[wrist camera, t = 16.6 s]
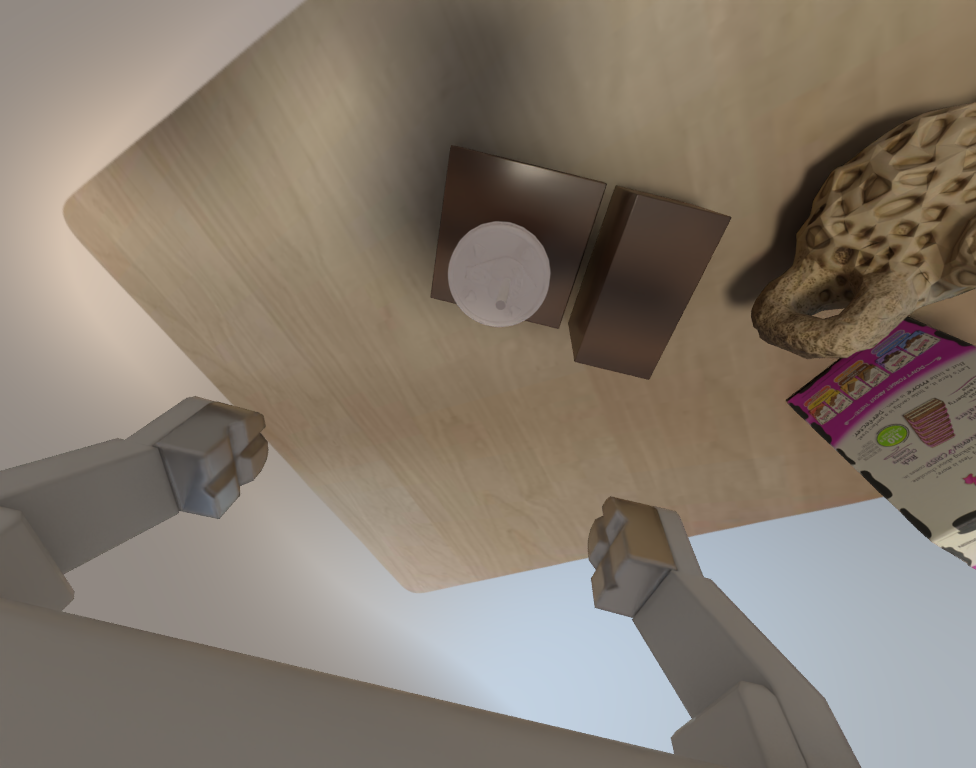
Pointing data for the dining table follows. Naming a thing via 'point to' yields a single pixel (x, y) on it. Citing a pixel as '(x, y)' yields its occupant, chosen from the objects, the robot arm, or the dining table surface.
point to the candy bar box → (907, 427)
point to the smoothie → (499, 274)
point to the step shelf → (615, 259)
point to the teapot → (880, 240)
